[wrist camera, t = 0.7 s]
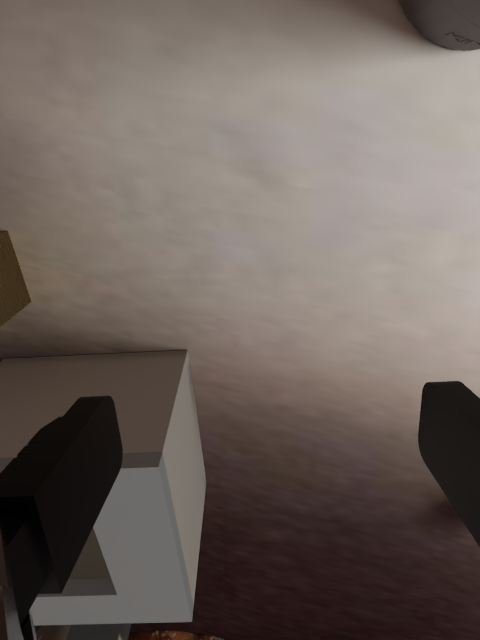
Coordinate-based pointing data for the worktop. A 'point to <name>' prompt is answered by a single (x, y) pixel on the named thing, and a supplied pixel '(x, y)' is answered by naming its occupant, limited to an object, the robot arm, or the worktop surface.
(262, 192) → the worktop surface
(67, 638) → the liquor
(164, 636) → the slice of bread
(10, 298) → the tall khaki box
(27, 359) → the grey box with opening
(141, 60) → the worktop surface
